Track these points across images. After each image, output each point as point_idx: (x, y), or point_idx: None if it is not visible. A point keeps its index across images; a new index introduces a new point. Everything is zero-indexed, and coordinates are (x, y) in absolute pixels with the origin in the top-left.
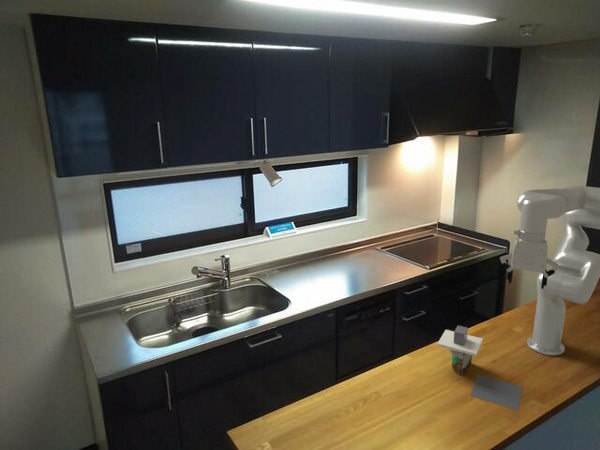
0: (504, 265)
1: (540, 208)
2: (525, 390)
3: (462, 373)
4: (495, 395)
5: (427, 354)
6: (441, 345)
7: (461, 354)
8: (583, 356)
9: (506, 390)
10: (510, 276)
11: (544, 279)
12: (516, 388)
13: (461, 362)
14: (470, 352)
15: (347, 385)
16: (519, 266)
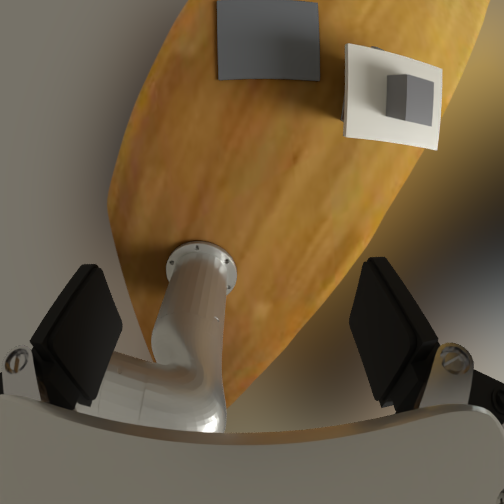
0: (501, 394)
1: None
2: (211, 76)
3: None
4: (268, 21)
5: None
6: (432, 66)
7: (380, 49)
8: (137, 269)
9: (249, 49)
10: (405, 304)
11: (38, 328)
12: (230, 66)
13: None
14: (363, 46)
15: (486, 7)
16: (397, 481)
